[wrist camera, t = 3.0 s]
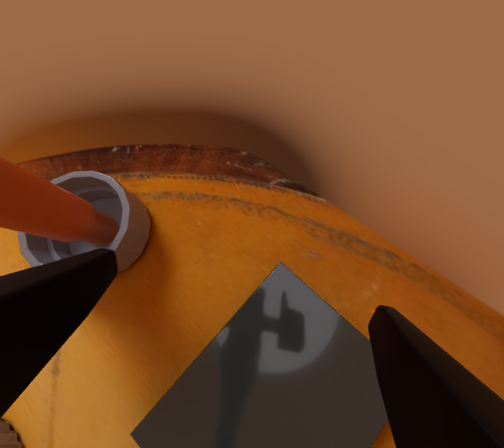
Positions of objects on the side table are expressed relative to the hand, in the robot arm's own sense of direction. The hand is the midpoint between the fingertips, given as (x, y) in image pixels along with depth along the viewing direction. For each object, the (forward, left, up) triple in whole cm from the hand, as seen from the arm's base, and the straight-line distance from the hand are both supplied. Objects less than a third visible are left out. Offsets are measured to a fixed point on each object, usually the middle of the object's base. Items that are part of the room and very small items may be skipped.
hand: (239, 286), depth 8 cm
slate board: (-5, -8, -14) cm, 17 cm away
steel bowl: (-6, +14, -14) cm, 21 cm away
